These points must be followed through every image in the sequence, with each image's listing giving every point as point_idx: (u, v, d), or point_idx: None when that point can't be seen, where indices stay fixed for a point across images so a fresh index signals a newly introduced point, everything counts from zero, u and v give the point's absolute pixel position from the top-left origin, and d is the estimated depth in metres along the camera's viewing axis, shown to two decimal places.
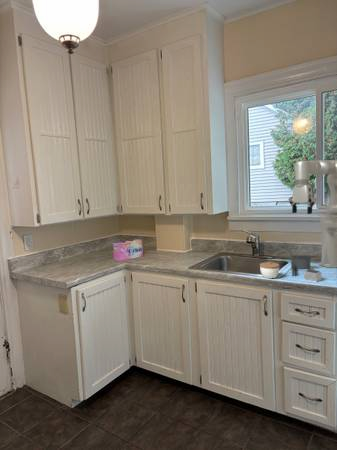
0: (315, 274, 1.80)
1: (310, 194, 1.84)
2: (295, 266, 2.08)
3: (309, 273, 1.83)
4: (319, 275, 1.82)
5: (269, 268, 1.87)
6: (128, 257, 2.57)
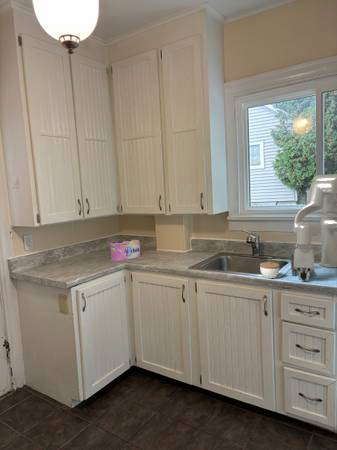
0: (298, 272, 1.85)
1: None
2: None
3: (298, 271, 1.88)
4: None
5: (269, 268, 1.87)
6: (126, 257, 2.56)
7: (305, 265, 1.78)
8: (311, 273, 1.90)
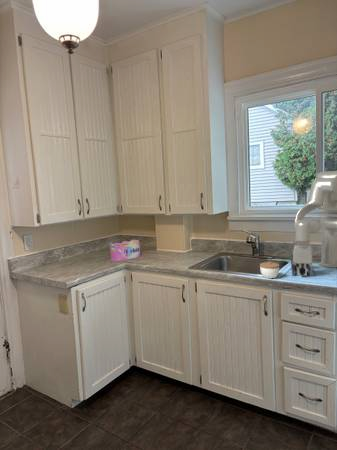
0: (297, 268, 1.94)
1: None
2: (295, 266, 2.08)
3: (297, 266, 1.97)
4: None
5: (269, 268, 1.87)
6: (125, 257, 2.55)
7: (304, 261, 1.87)
8: (311, 273, 1.90)
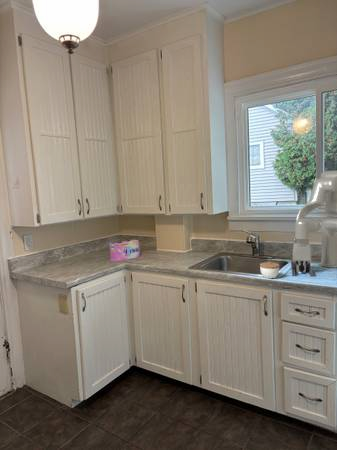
0: (296, 265, 2.00)
1: None
2: (295, 266, 2.08)
3: None
4: None
5: (269, 268, 1.87)
6: (125, 258, 2.55)
7: (303, 258, 1.94)
8: (311, 273, 1.90)
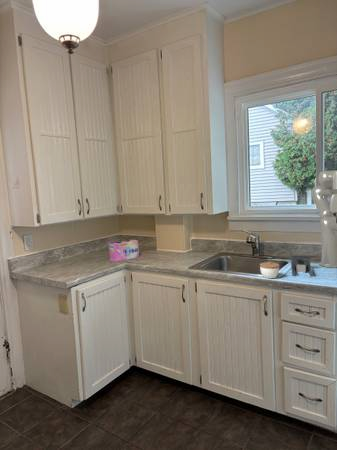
0: None
1: (330, 206, 1.90)
2: (295, 266, 2.08)
3: None
4: (302, 267, 1.99)
5: (269, 268, 1.87)
6: (124, 258, 2.55)
7: None
8: (311, 273, 1.90)
